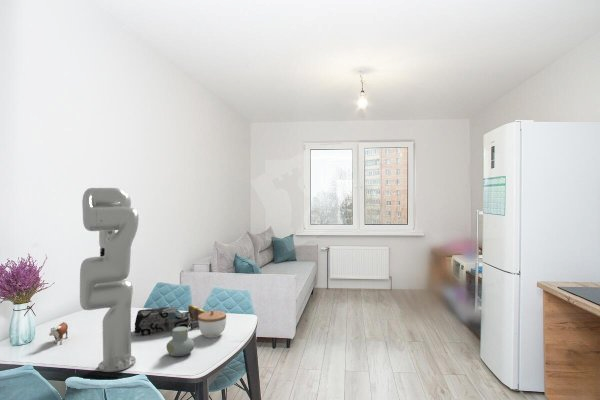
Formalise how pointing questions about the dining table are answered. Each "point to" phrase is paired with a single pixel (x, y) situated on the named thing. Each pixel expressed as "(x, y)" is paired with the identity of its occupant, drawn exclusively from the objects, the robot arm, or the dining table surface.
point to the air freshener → (180, 342)
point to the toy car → (160, 320)
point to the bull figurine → (59, 332)
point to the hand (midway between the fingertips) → (107, 260)
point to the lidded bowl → (212, 323)
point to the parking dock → (194, 315)
